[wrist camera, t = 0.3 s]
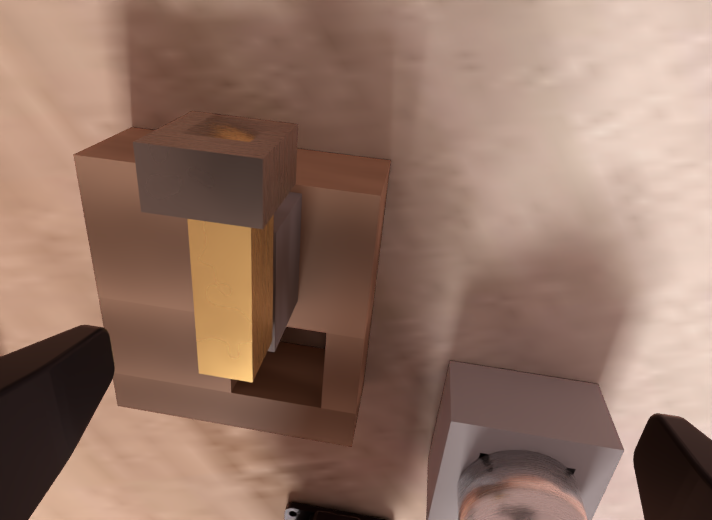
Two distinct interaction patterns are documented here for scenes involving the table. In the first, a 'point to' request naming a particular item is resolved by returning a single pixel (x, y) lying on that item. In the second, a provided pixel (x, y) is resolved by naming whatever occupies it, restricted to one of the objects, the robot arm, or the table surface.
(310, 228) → the hitch block
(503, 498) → the steel pin
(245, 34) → the table surface
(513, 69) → the table surface
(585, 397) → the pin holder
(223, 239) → the brass bolt
